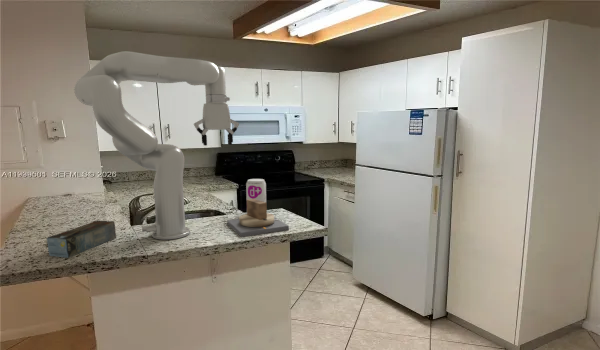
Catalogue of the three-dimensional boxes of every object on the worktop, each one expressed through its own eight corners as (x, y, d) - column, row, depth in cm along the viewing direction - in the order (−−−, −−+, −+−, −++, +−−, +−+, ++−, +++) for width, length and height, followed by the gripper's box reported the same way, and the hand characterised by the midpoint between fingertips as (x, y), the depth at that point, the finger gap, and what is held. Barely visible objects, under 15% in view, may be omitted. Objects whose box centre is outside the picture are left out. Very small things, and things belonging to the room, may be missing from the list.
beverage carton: (46, 256, 107) (44, 235, 106) (99, 236, 125) (97, 218, 124) (67, 259, 104) (65, 237, 103) (117, 238, 123) (116, 220, 122)
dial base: (241, 236, 123) (241, 232, 123) (227, 223, 139) (227, 219, 138) (288, 229, 131) (288, 225, 130) (270, 218, 147) (270, 214, 146)
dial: (233, 221, 135) (232, 200, 134) (261, 215, 144) (261, 196, 142) (251, 229, 125) (250, 206, 124) (281, 222, 134) (280, 201, 132)
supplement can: (263, 217, 148) (262, 181, 146) (244, 216, 149) (243, 181, 147) (268, 212, 156) (268, 178, 153) (250, 211, 157) (249, 178, 155)
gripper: (235, 101, 144) (236, 143, 146) (190, 100, 136) (193, 145, 139) (240, 100, 137) (242, 144, 140) (194, 98, 130) (196, 146, 132)
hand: (217, 144), depth 139 cm, fingers open, 9 cm apart
